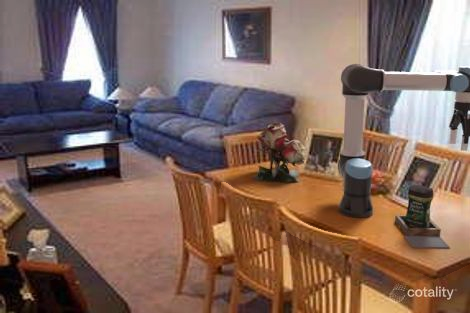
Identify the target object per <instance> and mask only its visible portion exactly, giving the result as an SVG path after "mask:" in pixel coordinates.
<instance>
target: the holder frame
mask: <svg viewBox="0 0 470 313" xmlns="http://www.w3.org/2000/svg"><path fill="white" fill-rule="evenodd" d="M405 218H406V214H395V216H394V222H395V224H396V226H398V228H399V229H400V231H402V232H403V234H404V236H440V237H441V228H440V227H439V226H438V225H437V224H436V223H435V222H434V221H433V220H432V219H431V218H430V227H429V228H409V227H408V226H407V225H406V224H405Z"/></svg>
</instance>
